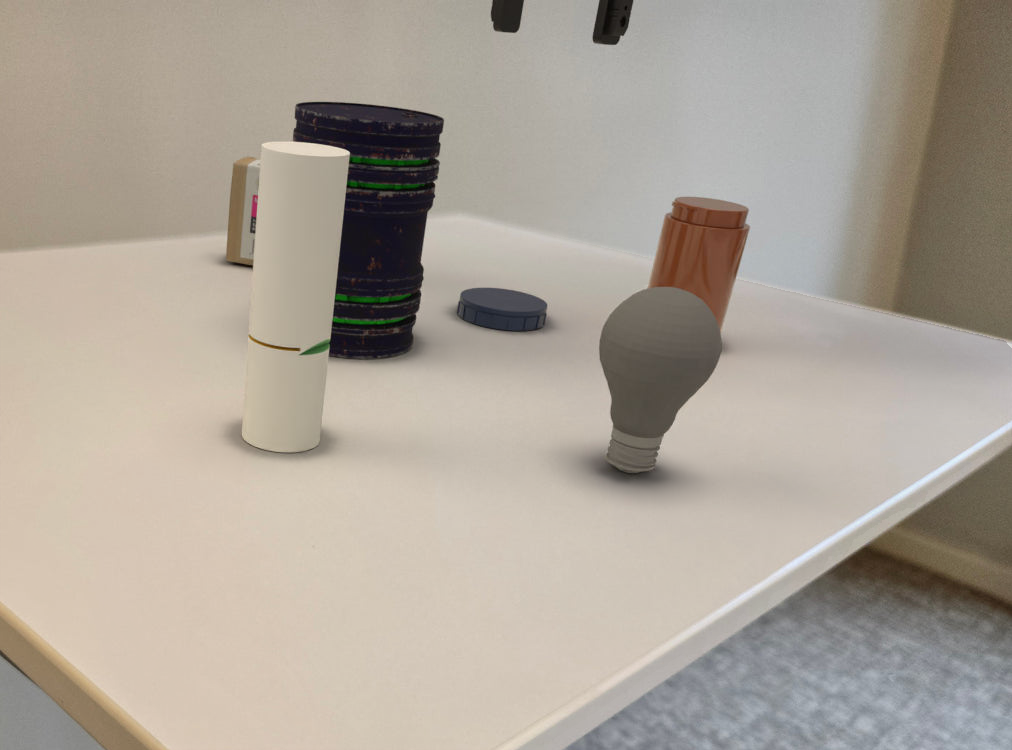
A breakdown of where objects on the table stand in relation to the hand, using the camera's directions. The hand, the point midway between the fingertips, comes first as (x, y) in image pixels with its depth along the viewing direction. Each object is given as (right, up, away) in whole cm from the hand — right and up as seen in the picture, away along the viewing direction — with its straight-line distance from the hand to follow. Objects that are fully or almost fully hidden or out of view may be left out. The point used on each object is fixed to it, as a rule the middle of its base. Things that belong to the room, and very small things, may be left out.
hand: (553, 38), depth 75 cm
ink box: (-19, -12, +18) cm, 28 cm away
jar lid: (-2, -17, +9) cm, 19 cm away
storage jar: (-14, -21, +2) cm, 25 cm away
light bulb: (0, -31, -16) cm, 35 cm away
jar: (+11, -19, +8) cm, 24 cm away
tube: (-19, -29, -16) cm, 38 cm away
